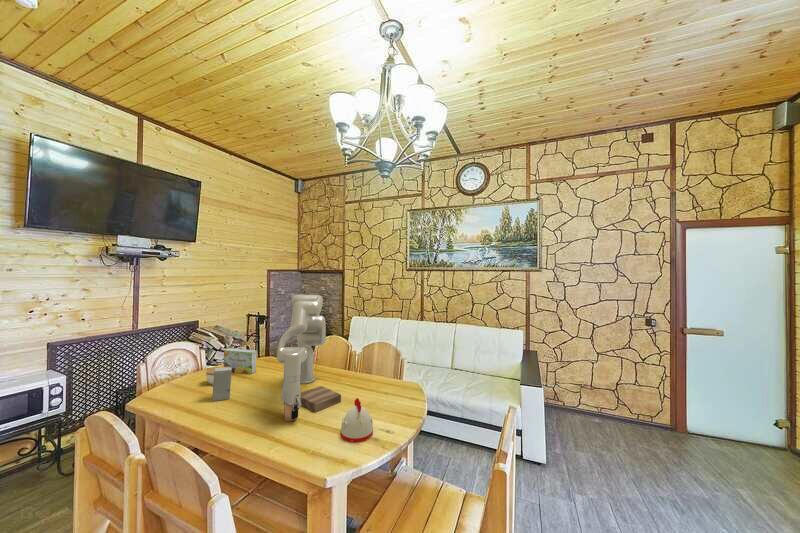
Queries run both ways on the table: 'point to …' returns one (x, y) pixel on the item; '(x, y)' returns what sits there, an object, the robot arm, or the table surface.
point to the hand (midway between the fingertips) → (290, 415)
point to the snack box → (240, 360)
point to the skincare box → (221, 383)
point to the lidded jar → (210, 375)
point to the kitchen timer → (357, 424)
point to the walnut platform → (319, 398)
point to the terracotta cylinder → (288, 412)
